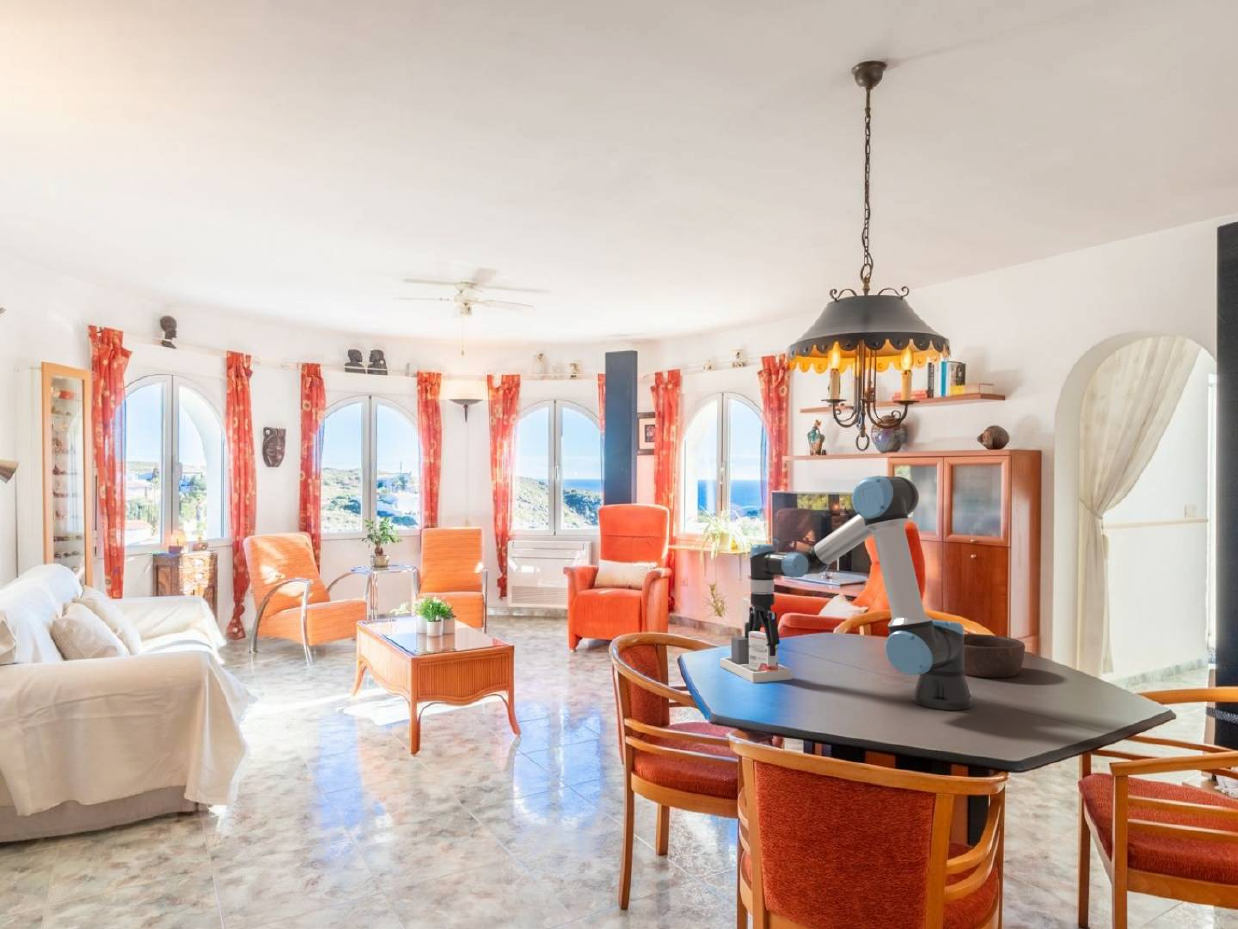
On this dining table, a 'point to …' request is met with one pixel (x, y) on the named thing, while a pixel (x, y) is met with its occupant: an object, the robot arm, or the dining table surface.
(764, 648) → the ink box
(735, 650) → the grey block with handle
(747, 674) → the tray
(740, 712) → the dining table surface
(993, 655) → the wooden bowl
